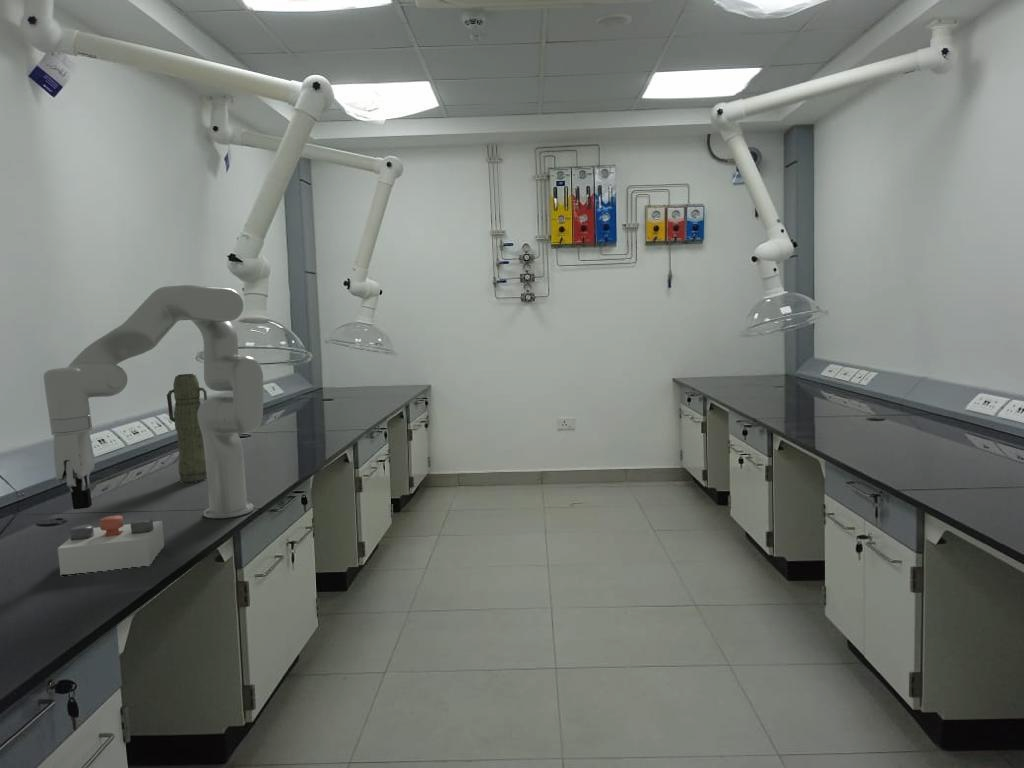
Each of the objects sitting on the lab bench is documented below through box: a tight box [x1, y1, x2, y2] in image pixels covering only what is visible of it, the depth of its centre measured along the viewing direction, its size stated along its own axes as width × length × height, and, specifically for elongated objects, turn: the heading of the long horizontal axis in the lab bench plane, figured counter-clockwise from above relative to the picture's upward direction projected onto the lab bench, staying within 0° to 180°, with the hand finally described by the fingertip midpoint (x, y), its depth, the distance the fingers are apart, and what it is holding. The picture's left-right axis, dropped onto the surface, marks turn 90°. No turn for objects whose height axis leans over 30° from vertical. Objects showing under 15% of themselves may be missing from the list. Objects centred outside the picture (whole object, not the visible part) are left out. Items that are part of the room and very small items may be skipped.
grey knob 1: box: [69, 524, 94, 540], centre depth 155 cm, size 4×4×6 cm
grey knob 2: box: [130, 518, 154, 534], centre depth 158 cm, size 4×4×6 cm
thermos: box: [166, 373, 208, 483], centre depth 233 cm, size 9×12×35 cm
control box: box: [57, 520, 165, 576], centre depth 156 cm, size 14×17×6 cm
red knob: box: [99, 515, 124, 537], centre depth 156 cm, size 4×4×6 cm
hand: (82, 507), depth 155 cm, fingers closed
